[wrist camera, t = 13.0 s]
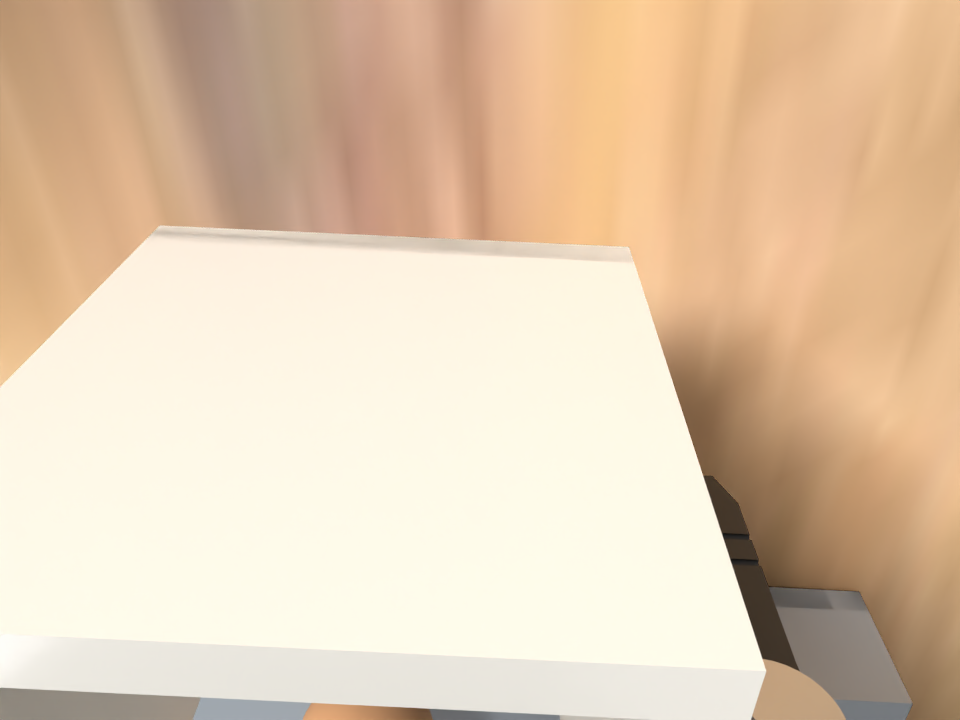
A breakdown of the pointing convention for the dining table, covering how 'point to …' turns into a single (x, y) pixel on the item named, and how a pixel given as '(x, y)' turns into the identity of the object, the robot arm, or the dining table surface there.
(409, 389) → the white cube stool
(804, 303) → the dining table surface
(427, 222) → the dining table surface
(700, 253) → the dining table surface
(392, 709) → the ball
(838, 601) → the tray
